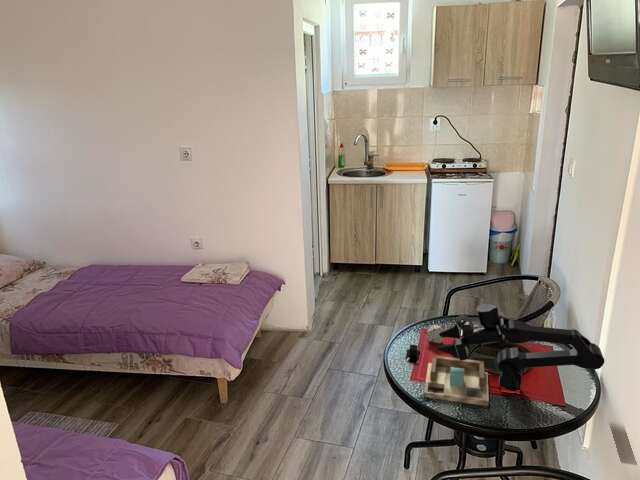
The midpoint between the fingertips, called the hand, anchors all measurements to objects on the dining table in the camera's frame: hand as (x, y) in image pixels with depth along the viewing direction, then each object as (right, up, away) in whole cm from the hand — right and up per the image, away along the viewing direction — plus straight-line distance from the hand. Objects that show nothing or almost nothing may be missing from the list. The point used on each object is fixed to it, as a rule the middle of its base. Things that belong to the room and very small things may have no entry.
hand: (438, 341), depth 176 cm
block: (+6, -14, -1) cm, 15 cm away
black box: (-5, -10, +19) cm, 22 cm away
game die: (+6, -6, +28) cm, 29 cm away
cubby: (+7, -12, +3) cm, 15 cm away
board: (+6, -16, 0) cm, 17 cm away
